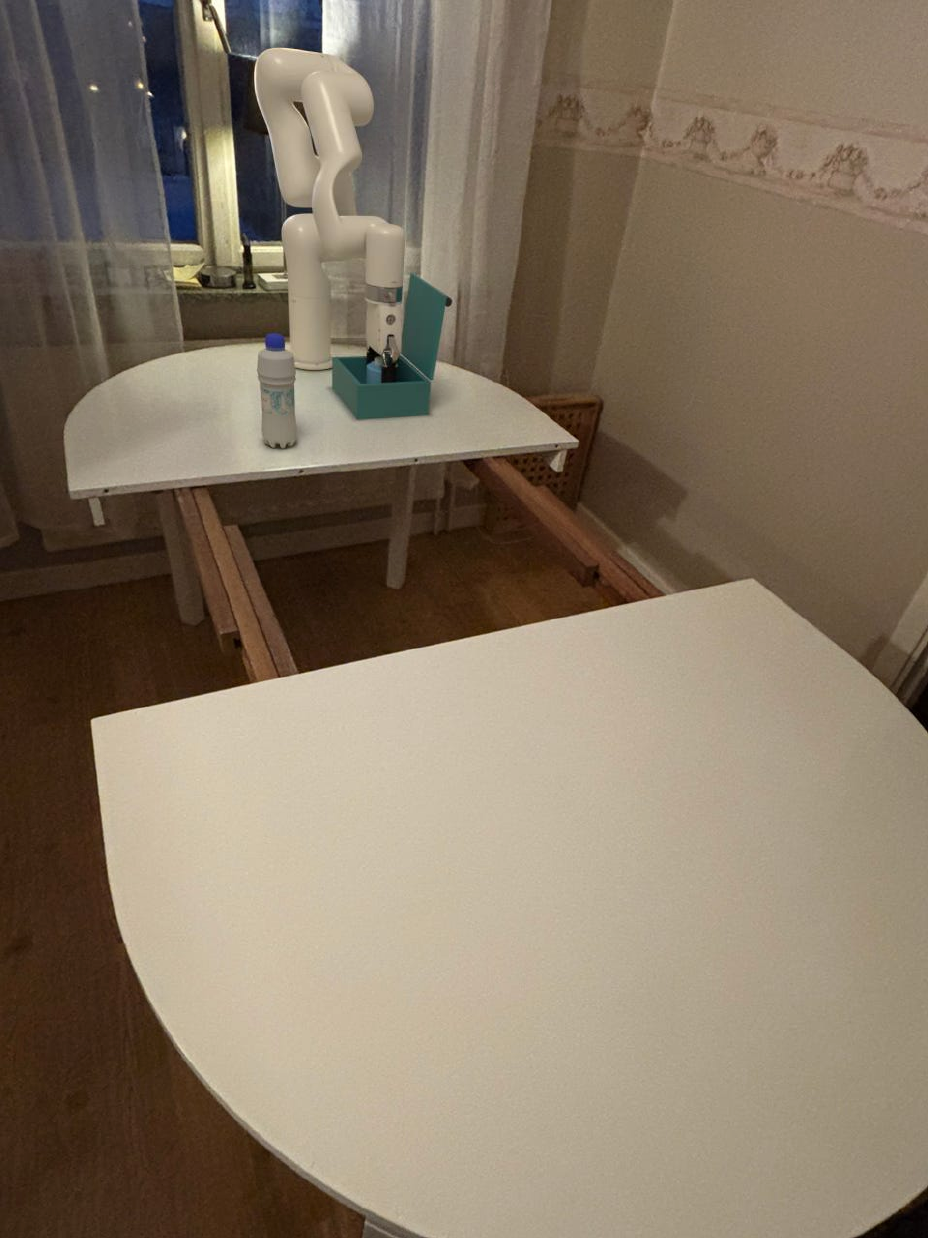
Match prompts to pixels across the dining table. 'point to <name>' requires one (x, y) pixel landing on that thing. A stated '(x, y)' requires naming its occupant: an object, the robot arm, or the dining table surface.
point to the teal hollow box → (380, 389)
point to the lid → (423, 324)
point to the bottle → (277, 392)
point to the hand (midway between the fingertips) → (380, 378)
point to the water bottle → (374, 371)
